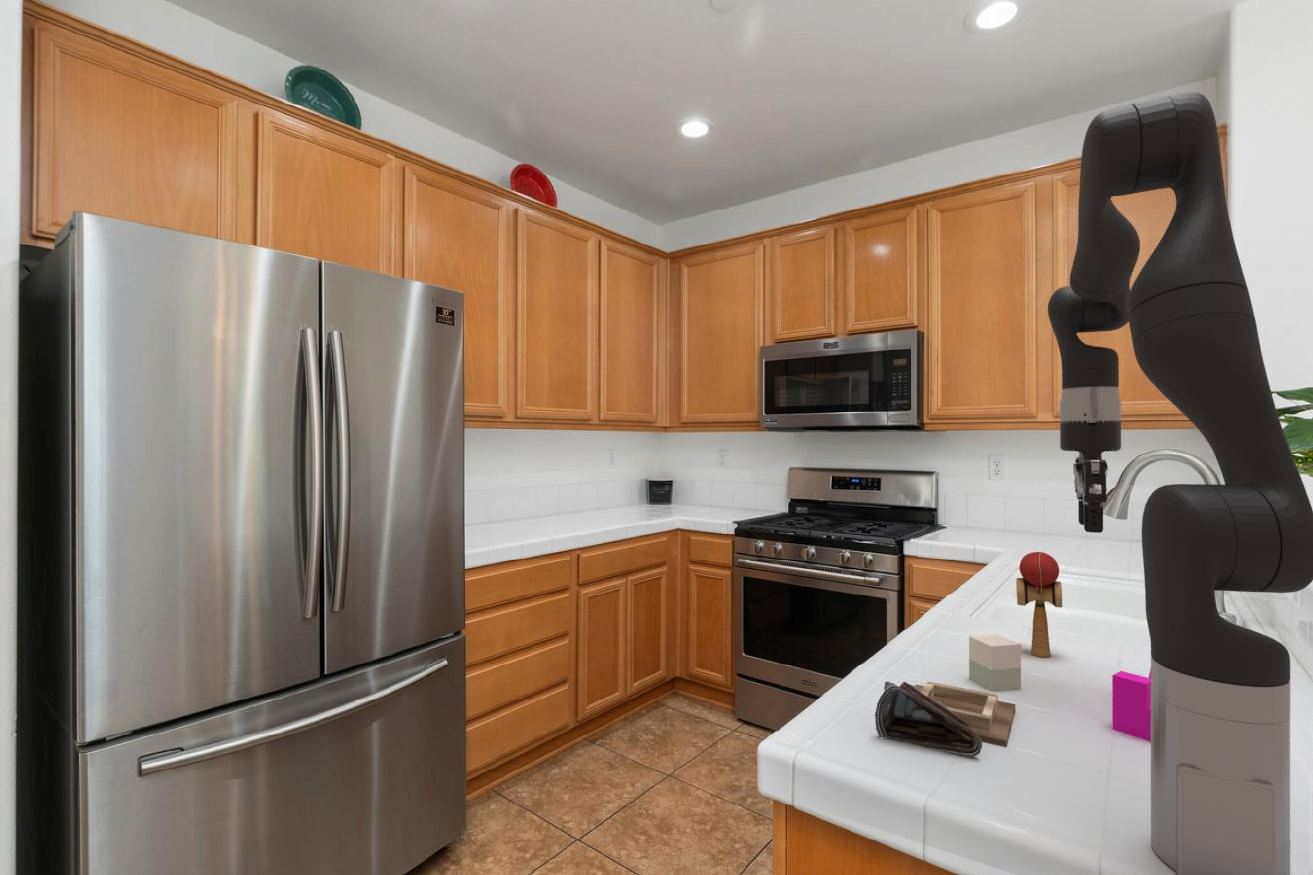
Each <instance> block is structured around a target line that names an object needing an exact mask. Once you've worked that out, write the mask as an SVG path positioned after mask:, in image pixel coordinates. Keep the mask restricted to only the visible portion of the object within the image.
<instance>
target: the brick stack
mask: <svg viewBox="0 0 1313 875" xmlns="http://www.w3.org/2000/svg"><path fill="white" fill-rule="evenodd" d="M968 641H969V642H968V680H970V681H971V682H973V683H974V684H977V685H979V686H981V687H982V688H984V689H985V690H989V691H991V692H1003V691H1016V690H1021V689H1022V644H1021V643H1019V642H1016V641H1013V640H1011V639H1010V638H1007V637H1005V636H1003V635H999V634H998V633H997V634H983V635H970V636H969V638H968Z"/></svg>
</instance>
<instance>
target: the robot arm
mask: <svg viewBox="0 0 1313 875" xmlns="http://www.w3.org/2000/svg"><path fill="white" fill-rule="evenodd" d="M1080 159H1081V160H1080V172H1079V192H1078V211H1077V212H1078V216H1077V218H1078V219H1077V222H1078V223H1077V226H1078V230H1077V244H1076V248H1075V254H1074V257H1073V262H1072V266H1071V270H1070V273H1069V285H1067V286H1062V287H1059V288H1057V289H1056V290H1055V291H1054V292H1053V294H1052V295H1051V296H1050V298H1049V300H1048V304H1047V314H1048V319H1049V322H1050V325H1051V327H1052V331H1053V334H1054V336H1055V339H1056V341H1057V346H1058V350H1059V354H1060V359H1061V389H1062V390H1061V398H1060V403H1059V431H1060V432H1059V441H1060V442H1059V448H1060V449H1061V451H1063V452H1078V455H1079V456H1076V458H1075V460H1074V461H1075V462H1074V463H1073V467H1072V470H1073V475H1074V478H1073V479H1074V481H1073V483H1074V484H1073V485H1074V492H1075V495H1076V498H1077V500H1078V503H1077V504H1078V523H1079V525H1081V526H1083V529H1084V531H1085V532H1087V533H1095V534H1096V533H1097V534H1101V533H1103V531H1104V507H1105V504H1106V503H1107V501H1108V496H1107V492H1108V478H1107V477H1108V473H1109V466H1108V463H1107V461H1106V460H1107V459H1103V458H1102V453H1104V452H1119V451H1120V450H1121V449H1122V403H1121V396H1120V390H1119V389H1120V388H1119V387H1120V384H1119V383H1120V379H1119V378H1120V376H1119V372H1120V370H1119V368H1120V366H1119V364H1120V362H1119V360H1120V359H1119V354H1118V352H1117V351H1116V350H1115V349H1113V348H1110V347H1104V346H1098V345H1097V346H1096V345H1091V344H1087V343H1085V342H1083V341H1082V340H1081V339H1080V337H1079V336H1078V334H1079V333H1080V334H1081V333H1083V334H1084V333H1096V332H1097V333H1099V332H1112V331H1116V330H1120V329H1121V328H1123V327H1124V326H1126V325H1127V324H1128V323H1129V329H1130V337H1131V342H1132V348H1133V352H1134V356H1135V359H1136V362H1137V364H1138V366H1139V368H1140V369H1141V370H1140V371H1142V372H1143V374H1144V375H1145V377H1146V378H1147V379H1148V380H1149V381H1150V382H1151V384H1153V386H1155V387H1156V388H1157V389H1158V391H1159V392H1160V393H1161V394H1162V395H1163V396H1164V397H1165V398H1166V399H1167V400H1168V401H1169V402H1171V404H1172V405H1173V406H1175V408H1177V409H1178V411H1180V412H1181V413H1182V414H1183V415H1184V416H1185V417H1187V419H1188V420H1189V421H1190V422H1191V423H1192V425H1194V427H1196V428H1197V430H1198V431H1199V432H1200V433H1201V435H1202V436H1203V437H1204V439H1205V440H1206V442H1207V443H1208V445H1209V446H1210V449H1211V450H1212V453H1213V454H1214V456H1215V457H1214V458H1215V459H1216V462H1217V464H1218V466H1219V469H1220V472H1221V475H1222V478H1223V481H1224V484H1215V483H1214V484H1211V483H1210V484H1208V483H1207V484H1205V483H1203V484H1200V483H1199V484H1198V483H1197V484H1196V483H1195V484H1194V483H1193V484H1190V483H1187V484H1186V483H1185V484H1184V483H1178V484H1177V483H1175V484H1167V485H1166V484H1165V485H1161V486H1159V487H1158V488H1156V489H1155V490H1153V492H1152V493H1151V494H1150V495H1149V497H1148V498H1147V501H1146V503H1145V505H1144V508H1143V514H1142V520H1141V549H1142V551H1141V552H1142V563H1143V574H1144V575H1143V576H1144V593H1145V594H1144V595H1145V616H1146V622H1147V627H1148V632H1149V634H1148V635H1149V640H1150V668H1151V742H1150V844H1151V849H1152V850H1153V851H1154V853H1155V855H1157V857H1159V858H1160V860H1161V861H1163V862H1164V863H1165V864H1166V865H1167V866H1169V867H1170V868H1171V869H1173V870H1174V871H1175V873H1176V874H1177V875H1291V657H1290V653H1289V651H1288V648H1286V646H1285V645H1284V644H1283V643H1281V642H1280V641H1279V640H1276V639H1274V638H1273V637H1270V636H1268V635H1266V634H1264V633H1261V632H1258V631H1255V630H1253V629H1249V628H1246V627H1244V626H1240V625H1237V624H1235V623H1232V622H1230V621H1229V620H1227V619H1226V618H1223V617H1222V616H1221V615H1220V614H1219V611H1218V608H1217V602H1216V595H1215V592H1216V591H1219V592H1242V593H1266V594H1267V593H1269V594H1271V593H1272V594H1274V593H1275V594H1286V593H1289V594H1290V593H1291V594H1292V593H1297V592H1300V591H1302V590H1304V589H1305V588H1307V587H1308V586H1309V585H1310V584H1311V583H1313V506H1312V504H1311V501H1310V498H1309V496H1308V494H1307V493H1308V492H1307V490H1306V488H1305V484H1304V482H1303V479H1302V477H1301V474H1300V471H1299V469H1298V467H1297V463H1296V462H1295V459H1294V456H1293V453H1292V451H1291V447H1290V446H1289V445H1290V444H1289V443H1288V440H1287V437H1286V435H1285V432H1284V429H1283V426H1282V423H1281V421H1280V418H1279V415H1278V411H1277V407H1276V404H1275V400H1274V398H1273V394H1272V390H1271V387H1270V383H1269V378H1268V374H1267V370H1266V366H1265V362H1264V358H1263V353H1262V348H1261V342H1260V339H1259V338H1260V337H1259V332H1258V326H1257V322H1256V318H1255V313H1254V308H1253V304H1252V300H1251V296H1250V292H1249V289H1248V286H1247V285H1248V284H1247V282H1246V278H1245V274H1244V270H1243V268H1242V264H1241V260H1240V257H1239V253H1238V250H1237V246H1236V243H1235V238H1234V232H1233V229H1232V225H1231V221H1230V220H1231V219H1230V216H1229V210H1228V205H1227V198H1226V188H1225V180H1224V172H1223V164H1222V156H1221V146H1220V139H1219V131H1218V126H1217V120H1216V116H1215V112H1214V110H1213V107H1212V105H1211V103H1210V101H1209V99H1208V98H1207V96H1205V95H1204V94H1202V93H1200V92H1197V91H1196V92H1195V91H1194V92H1192V91H1191V92H1183V93H1175V94H1170V95H1167V96H1165V95H1164V96H1161V97H1157V98H1156V97H1155V98H1151V99H1148V100H1143V101H1138V102H1134V103H1133V102H1132V103H1129V104H1125V105H1121V106H1120V105H1119V106H1116V107H1113V108H1110V109H1107V110H1104V111H1101V112H1100V113H1098V114H1096V115H1095V117H1094V118H1093V119H1092V120H1091V122H1090V123H1089V125H1088V127H1087V129H1086V132H1085V135H1084V141H1083V144H1082V150H1081V158H1080ZM1162 189H1163V190H1164V189H1170V190H1172V191H1173V193H1174V196H1175V210H1174V213H1173V216H1172V217H1171V220H1170V221H1169V224H1168V226H1167V227H1166V230H1165V231H1164V234H1163V236H1162V237H1161V239H1160V241H1159V242H1158V244H1157V245H1156V247H1155V248H1154V249H1153V252H1152V253H1151V254H1150V256H1149V257H1148V258H1147V261H1146V262H1145V264H1144V265H1143V267H1142V268H1141V270H1140V271H1139V273H1138V274H1137V276H1136V279H1134V281H1133V283H1132V286H1131V285H1130V283H1131V278H1132V275H1133V272H1134V269H1135V267H1136V264H1137V262H1138V260H1139V256H1140V250H1141V241H1140V240H1141V239H1140V235H1139V234H1138V232H1137V229H1136V228H1135V227H1134V225H1133V223H1132V222H1131V221H1130V220H1128V218H1127V217H1126V216H1125V215H1124V214H1123V213H1121V212H1120V210H1119V209H1118V208H1117V207H1116V206H1115V204H1114V202H1113V200H1112V198H1113V197H1121V196H1128V195H1132V194H1134V195H1135V194H1139V193H1145V192H1150V191H1156V190H1162ZM1130 286H1131V288H1130Z"/></svg>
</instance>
